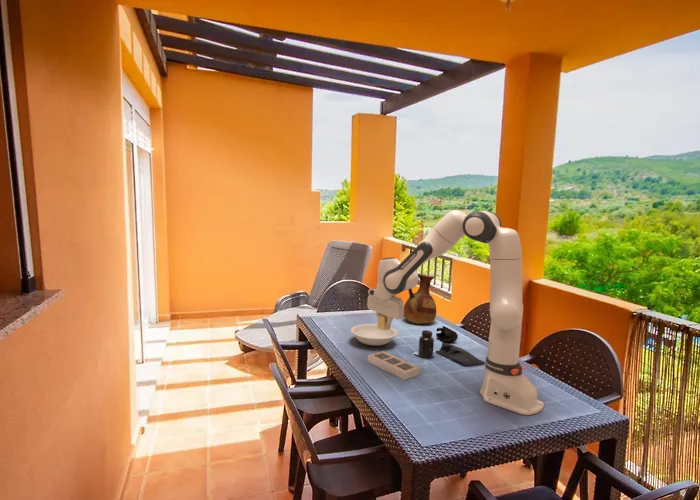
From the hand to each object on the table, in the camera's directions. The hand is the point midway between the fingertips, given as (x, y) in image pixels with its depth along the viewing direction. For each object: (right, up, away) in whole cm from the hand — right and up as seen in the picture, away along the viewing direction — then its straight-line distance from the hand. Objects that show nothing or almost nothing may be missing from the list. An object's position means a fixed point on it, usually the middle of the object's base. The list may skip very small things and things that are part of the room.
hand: (384, 323), depth 181 cm
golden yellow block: (0, -2, 0) cm, 2 cm away
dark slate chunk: (+37, -19, +12) cm, 43 cm away
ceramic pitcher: (+27, -12, +69) cm, 75 cm away
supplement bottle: (+21, -18, +12) cm, 30 cm away
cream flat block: (+4, -19, -4) cm, 19 cm away
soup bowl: (-3, -15, +27) cm, 31 cm away
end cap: (+36, -16, +36) cm, 53 cm away
